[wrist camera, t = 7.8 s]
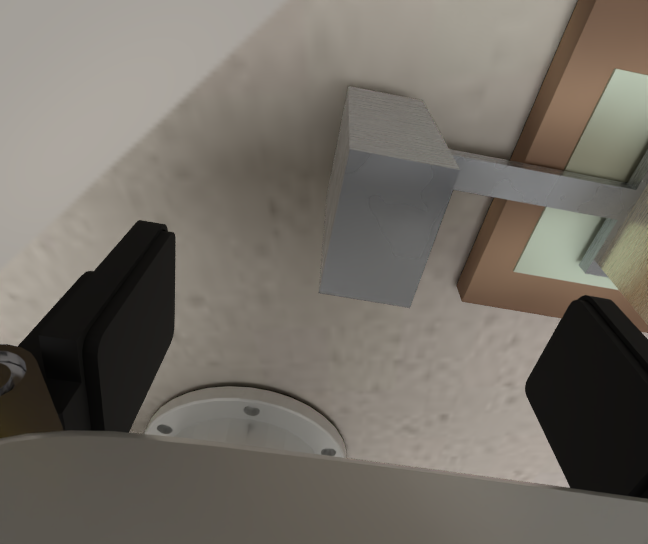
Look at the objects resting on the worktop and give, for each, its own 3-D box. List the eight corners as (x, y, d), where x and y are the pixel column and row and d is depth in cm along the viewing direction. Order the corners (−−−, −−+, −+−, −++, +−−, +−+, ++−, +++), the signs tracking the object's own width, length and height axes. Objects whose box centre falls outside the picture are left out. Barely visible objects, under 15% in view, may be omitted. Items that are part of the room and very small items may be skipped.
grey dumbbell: (705, 287, 19) (833, 405, 14) (321, 219, 18) (312, 321, 13) (819, 147, 15) (1042, 236, 10) (354, 52, 14) (360, 102, 9)
